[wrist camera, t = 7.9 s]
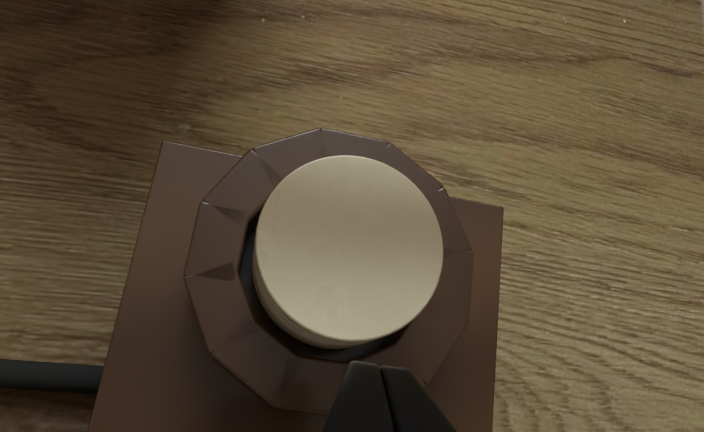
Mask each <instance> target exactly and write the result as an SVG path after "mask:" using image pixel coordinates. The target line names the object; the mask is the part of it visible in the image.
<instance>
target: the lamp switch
mask: <svg viewBox="0 0 704 432" xmlns="http://www.w3.org/2000/svg"><path fill="white" fill-rule="evenodd" d="M442 264H443V242H442V235H441V231H440V227H439V223H438V221H437V218H436V215H435V213H434V211H433V209H432V207H431V205H430V203H429V202H428V200H427V199H426V198H425V196H424V195H423V193H422V192H421V191H420V190H419V189H418V188H417V186H416V185H415V184H414V183H413V182H411V181H410V180H409V179H408V178H407V177H406V176H404V175H403V174H402V173H400V172H399V171H397V170H396V169H394V168H392V167H390V166H388V165H386V164H384V163H381V162H379V161H376V160H373V159H369V158H366V157H360V156H351V155H339V156H330V157H325V158H321V159H317V160H314V161H312V162H309V163H307V164H305V165H303V166H301V167H299V168H297V169H296V170H294V171H293V172H292V173H290V174H289V175H287V176H286V177H285V178H284V179H283V180H282V181H281V182H280V183H279V184H278V185H277V186H276V188H275V189H274V190H273V191H272V193H271V194H270V196H269V197H268V199H267V201H266V203H265V204H264V207H263V209H262V211H261V214H260V217H259V221H258V225H257V229H256V236H255V243H254V251H253V259H252V275H253V282H254V286H255V290H256V293H257V296H258V298H259V300H260V303H261V305H262V306H263V308H264V310H265V311H266V313H267V314H268V316H269V317H270V318H271V319H272V321H273V322H274V323H275V324H276V325H277V326H278V327H279V328H280V329H281V330H283V331H284V332H285V333H287V334H288V335H290V336H291V337H293V338H295V339H296V340H298V341H300V342H302V343H305V344H308V345H311V346H314V347H319V348H324V349H346V348H351V347H356V346H359V345H362V344H364V343H367V342H370V341H373V340H376V339H379V338H382V337H384V336H387V335H390V334H392V333H394V332H396V331H398V330H400V329H401V328H403V327H404V326H406V325H407V324H409V323H410V322H411V321H412V320H413V319H414V318H416V317H417V316H418V315H419V314H420V313H421V311H422V310H423V309H424V308H425V307H426V305H427V304H428V302H429V301H430V299H431V297H432V296H433V294H434V292H435V289H436V287H437V285H438V282H439V278H440V275H441V271H442Z"/></svg>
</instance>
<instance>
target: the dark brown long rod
mask: <svg viewBox="0 0 704 432" xmlns="http://www.w3.org/2000/svg"><path fill="white" fill-rule="evenodd" d="M103 369H104V366H95V365H80V364H65V363H50V362H35V361H20V360H5V359H0V388H7V389H24V390H41V391H57V392H74V393H91V394H97V392H98V388H99V384H100V380H101V377H102V373H103Z"/></svg>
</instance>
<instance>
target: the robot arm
mask: <svg viewBox="0 0 704 432" xmlns="http://www.w3.org/2000/svg"><path fill="white" fill-rule="evenodd" d="M322 432H457V430H456V429H455V428H454V426H453V425H452V424H451V423H450V421H449V420H448V419H447V417H446V416H445V415H444V414H443V412H442V411H441V410H440V409H439V407H438V406H437V405H436V403H435V402H434V401H433V400H432V398H431V397H430V396H429V394H428V393H427V392H426V391H425V389H424V388H423V387H422V385H421V384H420V383H419V382H418V380H417V379H416V378H415V376H414V375H413V374H412V373H411V372H410V371H409V370H408V369H405V368H400V367H393V366H386V365H383V366H381V367H380V368H379V366H377V365H376V364H373V363H366V362H360V361H352V362H351V363H350V364H349V366H348V368H347V371H346V373H345V376H344V378H343V381H342V383H341V385H340V388H339V390H338V393H337V395H336V398H335V400H334V403H333V405H332V408H331V410H330V413H329V415H328V417H327V420H326V422H325V425H324V427H323V430H322Z"/></svg>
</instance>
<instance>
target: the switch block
mask: <svg viewBox="0 0 704 432" xmlns="http://www.w3.org/2000/svg"><path fill="white" fill-rule="evenodd" d="M339 155H351V156H360V157H366V158H369V159H373V160H376V161H379V162H381V163H384V164H386V165H388V166H390V167H392V168H394V169H396V170H397V171H399V172H400V173H402V174H403V175H404V176H406V177H407V178H408V179H409V180H410V181H411V182H413V183H414V184H415V185H416V186H417V188H418V189H419V190H420V191H421V192H422V193H423V195H424V196H425V198H426V199H427V200H428V202H429V203H430V205H431V207H432V209H433V211H434V213H435V215H436V218H437V221H438V223H439V227H440V231H441V235H442V242H443V264H442V271H441V275H440V278H439V282H438V285H437V287H436V289H435V292H434V294H433V296H432V297H431V299H430V301H429V302H428V304H427V305H426V307H425V308H424V309H423V310H422V311H421V313H420V314H419V315H418V316H417V317H416V318H414V319H413V320H412V321H411V322H410V323H409V324H407V325H406V326H404V327H403V328H401V329H400V330H398V331H396V332H394V333H392V334H390V335H387V336H384V337H382V338H379V339H376V340H373V341H370V342H367V343H364V344H362V345H359V346H356V347H351V348H346V349H324V348H319V347H314V346H311V345H308V344H305V343H302V342H300V341H298V340H296V339H295V338H293V337H291V336H290V335H288V334H287V333H285V332H284V331H283V330H281V329H280V328H279V327H278V326H277V325H276V324H275V323H274V322H273V321H272V319H271V318H270V317H269V316H268V314H267V313H266V311H265V310H264V308H263V306H262V305H261V303H260V300H259V298H258V296H257V293H256V290H255V286H254V282H253V275H252V259H253V251H254V243H255V236H256V229H257V225H258V221H259V217H260V214H261V211H262V209H263V207H264V204H265V203H266V201H267V199H268V197H269V196H270V194H271V193H272V191H273V190H274V189H275V188H276V186H277V185H278V184H279V183H280V182H281V181H282V180H283V179H284V178H285V177H286V176H287V175H289V174H290V173H292V172H293V171H294V170H296V169H297V168H299V167H301V166H303V165H305V164H307V163H309V162H312V161H314V160H317V159H321V158H325V157H330V156H339ZM503 210H504V209H503V207H501V206H495V205H490V204H485V203H480V202H475V201H470V200H465V199H460V198H455V197H450V196H448V194H447V191H446V189H445V188H443V185H442V184H441V183H440V182H439V181H437V180H436V179H435V178H434V177H432V176H431V175H430V174H429V173H427V172H426V171H425V170H424V169H422V168H421V167H420V166H419V165H417V164H416V163H415V162H414V161H412V160H411V159H410V158H409V157H407V156H406V155H405V154H404V153H403V152H401V151H400V150H399V149H398V148H396V147H395V146H394V145H393V144H391V143H389V142H388V141H384V140H379V139H374V138H369V137H364V136H359V135H355V134H350V133H345V132H340V131H335V130H331V129H326V128H320V129H319V128H317V129H314V130H310V131H307V132H303V133H300V134H297V135H293V136H290V137H286V138H283V139H280V140H276V141H273V142H269V143H266V144H263V145H259V146H256V147H254V148H252V149H251V150H249V151H248V152H247V153H246V154H245V155H244V156H241V155H236V154H231V153H226V152H221V151H216V150H210V149H205V148H200V147H195V146H190V145H185V144H180V143H175V142H170V141H162V143H161V147H160V151H159V155H158V159H157V163H156V167H155V170H154V174H153V178H152V182H151V186H150V190H149V194H148V198H147V202H146V205H145V209H144V213H143V217H142V221H141V225H140V229H139V233H138V237H137V240H136V244H135V248H134V252H133V256H132V260H131V264H130V268H129V272H128V275H127V279H126V283H125V287H124V291H123V295H122V299H121V303H120V307H119V310H118V314H117V318H116V322H115V326H114V330H113V334H112V338H111V342H110V345H109V349H108V353H107V357H106V361H105V365H104V369H103V373H102V377H101V380H100V384H99V388H98V392H97V396H96V400H95V404H94V408H93V412H92V416H91V419H90V423H89V427H88V431H87V432H322V430H323V427H324V425H325V422H326V420H327V417H328V415H329V413H330V410H331V408H332V405H333V403H334V400H335V398H336V395H337V393H338V390H339V388H340V385H341V383H342V381H343V378H344V376H345V373H346V371H347V368H348V366H349V364H350V363H351V362H352V361H360V362H366V363H373V364H376V365H377V366H379V368H380V367H381V366H383V365H386V366H393V367H400V368H405V369H408V370H409V371H410V372H411V373H412V374H413V375H414V376H415V378H416V379H417V380H418V382H419V383H420V384H421V385H422V387H423V388H424V389H425V391H426V392H427V393H428V394H429V396H430V397H431V398H432V400H433V401H434V402H435V403H436V405H437V406H438V407H439V409H440V410H441V411H442V412H443V414H444V415H445V416H446V417H447V419H448V420H449V421H450V423H451V424H452V425H453V426H454V428H455V429H456V430H457V432H492V425H493V405H494V386H495V366H496V347H497V327H498V308H499V288H500V269H501V249H502V230H503Z"/></svg>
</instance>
